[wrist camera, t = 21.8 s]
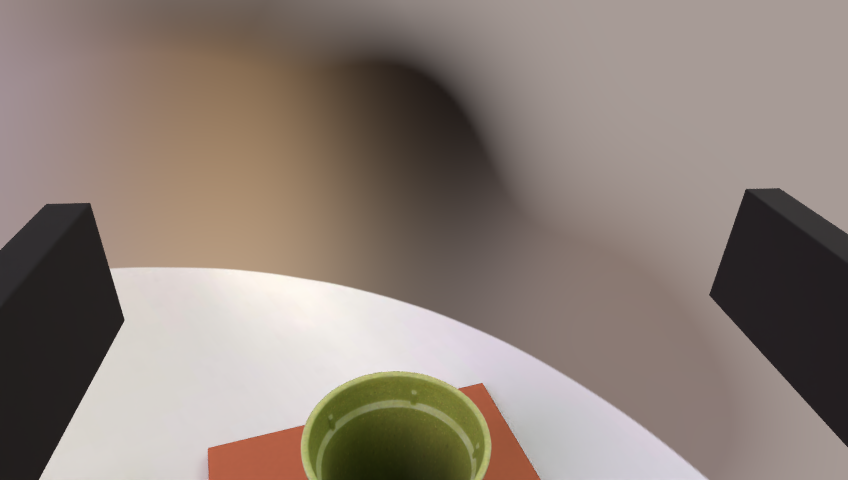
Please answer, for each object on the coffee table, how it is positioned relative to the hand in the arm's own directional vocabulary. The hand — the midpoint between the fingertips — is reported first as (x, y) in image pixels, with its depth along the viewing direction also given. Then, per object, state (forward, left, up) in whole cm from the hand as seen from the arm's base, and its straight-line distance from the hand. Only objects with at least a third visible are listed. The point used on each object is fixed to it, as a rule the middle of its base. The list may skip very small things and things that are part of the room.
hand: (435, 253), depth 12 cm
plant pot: (-2, -9, -26) cm, 27 cm away
